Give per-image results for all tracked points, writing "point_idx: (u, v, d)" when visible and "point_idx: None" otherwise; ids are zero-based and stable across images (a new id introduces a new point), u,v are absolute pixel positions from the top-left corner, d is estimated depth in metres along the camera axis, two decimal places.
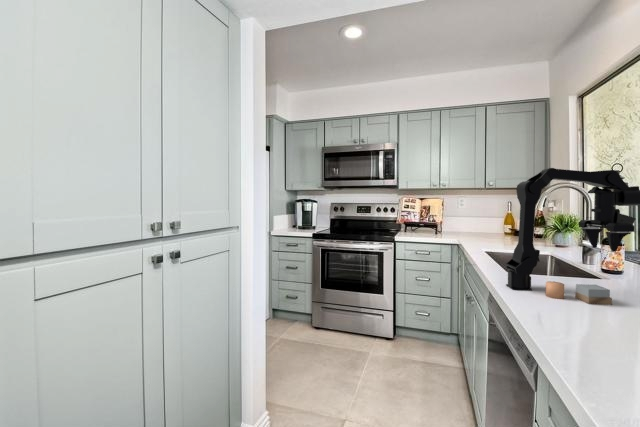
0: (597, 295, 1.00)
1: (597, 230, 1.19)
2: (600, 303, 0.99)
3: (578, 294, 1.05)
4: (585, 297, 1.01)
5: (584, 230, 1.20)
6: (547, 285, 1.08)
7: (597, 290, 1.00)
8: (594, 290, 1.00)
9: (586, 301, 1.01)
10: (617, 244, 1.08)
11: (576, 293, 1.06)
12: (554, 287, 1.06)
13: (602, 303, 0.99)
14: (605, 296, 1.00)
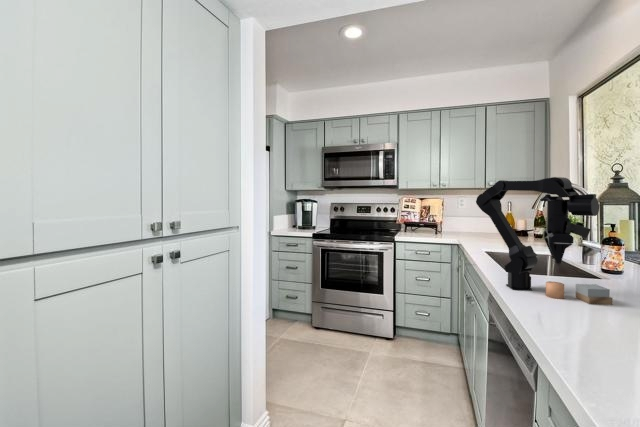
0: (597, 295, 1.00)
1: None
2: (600, 303, 0.99)
3: (578, 294, 1.05)
4: (585, 297, 1.01)
5: None
6: (547, 285, 1.08)
7: (597, 290, 1.00)
8: (594, 290, 1.00)
9: (586, 301, 1.01)
10: (560, 256, 1.02)
11: (576, 293, 1.06)
12: (554, 287, 1.06)
13: (602, 303, 0.99)
14: (605, 296, 0.99)
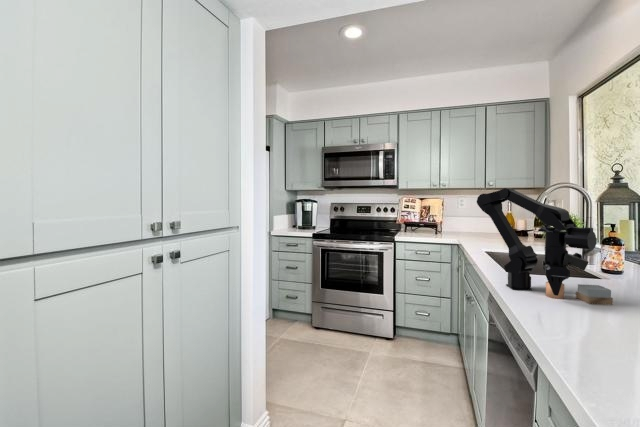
0: (598, 295, 1.00)
1: None
2: (601, 303, 0.99)
3: (579, 294, 1.05)
4: (586, 297, 1.01)
5: None
6: (547, 285, 1.08)
7: (598, 290, 1.00)
8: (594, 290, 1.00)
9: (587, 301, 1.01)
10: (558, 288, 1.03)
11: (577, 293, 1.06)
12: None
13: (603, 303, 0.99)
14: (606, 296, 0.99)
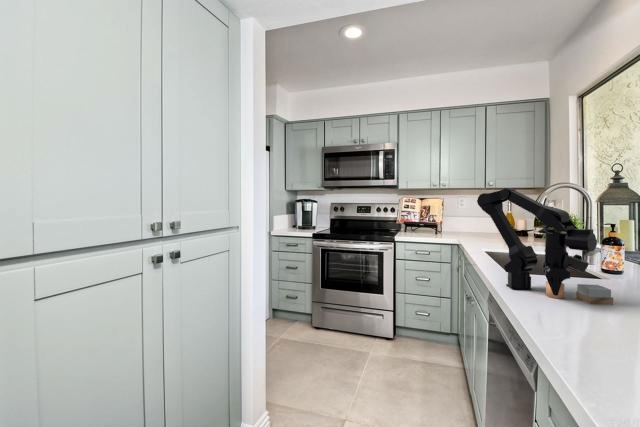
0: (598, 295, 1.00)
1: None
2: (601, 303, 0.99)
3: (579, 294, 1.05)
4: (586, 297, 1.01)
5: (544, 271, 1.12)
6: (547, 285, 1.08)
7: (598, 290, 1.00)
8: (595, 290, 1.00)
9: (587, 301, 1.01)
10: (557, 288, 1.04)
11: (577, 293, 1.06)
12: None
13: (603, 303, 0.99)
14: (606, 296, 0.99)
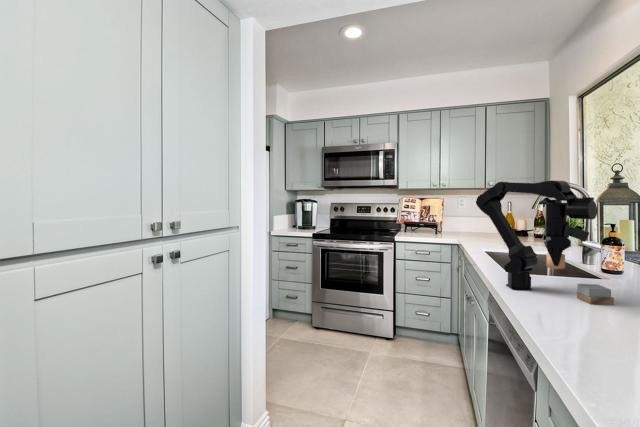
0: (598, 295, 1.00)
1: None
2: (602, 303, 0.99)
3: (580, 294, 1.04)
4: (587, 297, 1.01)
5: None
6: (548, 256, 1.07)
7: (598, 290, 1.00)
8: (595, 290, 1.00)
9: (588, 301, 1.01)
10: (558, 258, 1.04)
11: (578, 293, 1.05)
12: None
13: (604, 303, 0.99)
14: (606, 296, 0.99)
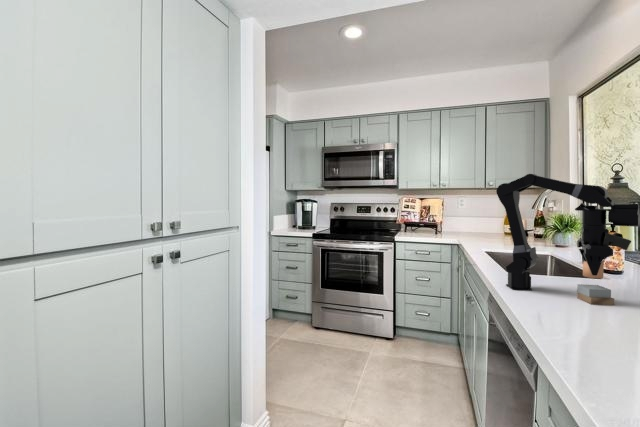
0: (598, 295, 1.00)
1: None
2: (602, 304, 0.99)
3: (580, 294, 1.04)
4: (587, 297, 1.01)
5: (580, 251, 1.07)
6: (585, 264, 1.02)
7: (598, 290, 1.00)
8: (595, 290, 1.00)
9: (588, 301, 1.01)
10: (597, 267, 0.99)
11: (578, 293, 1.05)
12: None
13: (604, 304, 0.99)
14: (606, 296, 1.00)
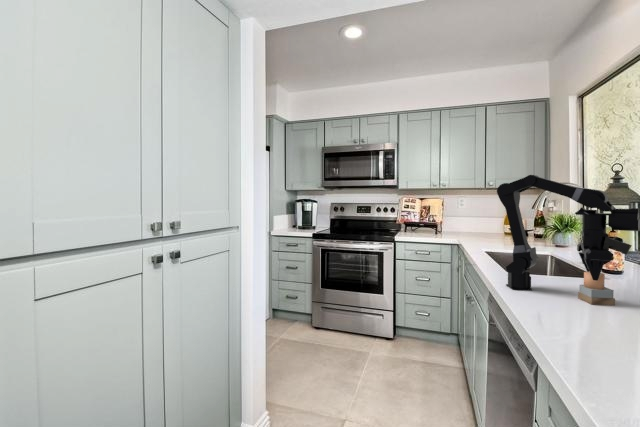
0: (600, 296, 0.99)
1: None
2: (603, 304, 0.99)
3: (581, 294, 1.04)
4: (588, 297, 1.01)
5: None
6: (586, 275, 1.02)
7: (600, 291, 0.99)
8: (597, 291, 0.99)
9: (589, 301, 1.00)
10: (598, 272, 0.98)
11: (579, 293, 1.05)
12: None
13: (605, 304, 0.99)
14: (609, 297, 0.99)
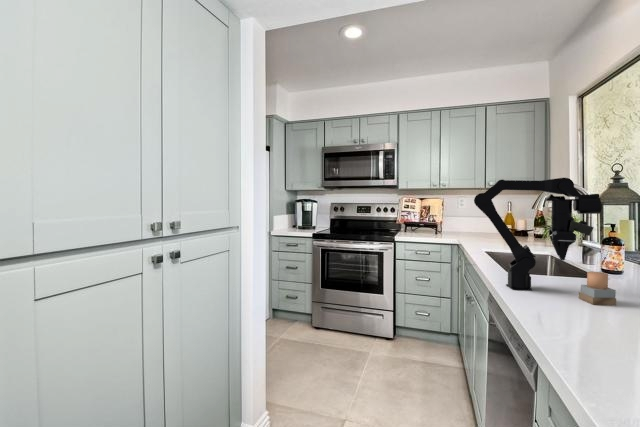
0: (603, 295, 0.99)
1: None
2: (604, 303, 0.99)
3: (582, 294, 1.04)
4: (589, 297, 1.01)
5: (550, 237, 1.19)
6: (589, 275, 1.02)
7: (603, 290, 0.99)
8: (600, 290, 0.99)
9: (590, 301, 1.00)
10: (564, 252, 1.08)
11: (579, 293, 1.05)
12: (598, 277, 1.00)
13: (606, 303, 0.99)
14: (611, 296, 0.99)
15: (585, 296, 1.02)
